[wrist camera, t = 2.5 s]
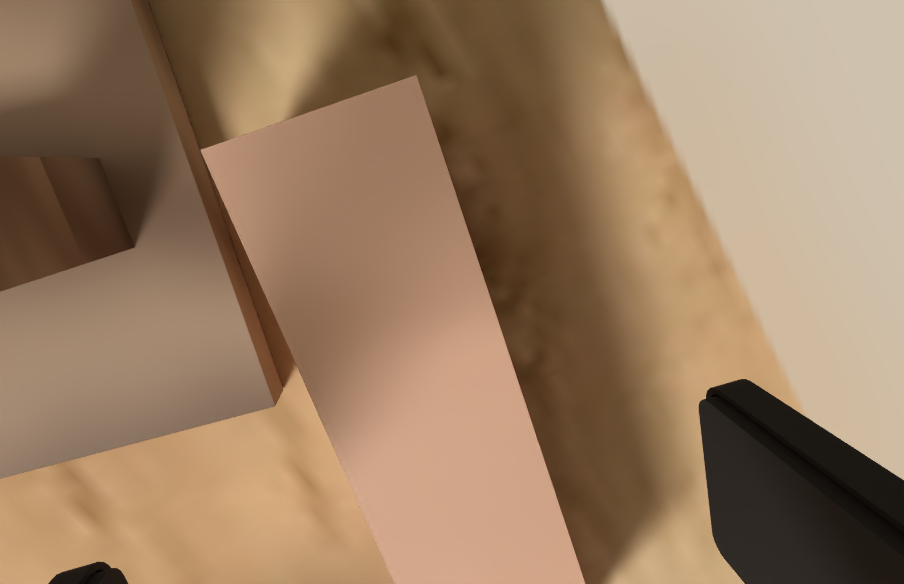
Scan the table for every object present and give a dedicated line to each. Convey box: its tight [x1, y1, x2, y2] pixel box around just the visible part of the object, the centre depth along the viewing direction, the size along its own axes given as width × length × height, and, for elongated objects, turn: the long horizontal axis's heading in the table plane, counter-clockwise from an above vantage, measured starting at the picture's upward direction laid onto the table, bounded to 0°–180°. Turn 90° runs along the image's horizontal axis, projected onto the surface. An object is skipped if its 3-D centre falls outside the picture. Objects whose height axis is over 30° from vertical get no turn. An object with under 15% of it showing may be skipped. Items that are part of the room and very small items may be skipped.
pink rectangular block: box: [200, 75, 585, 584], centre depth 13 cm, size 16×4×5 cm, turn 19°
